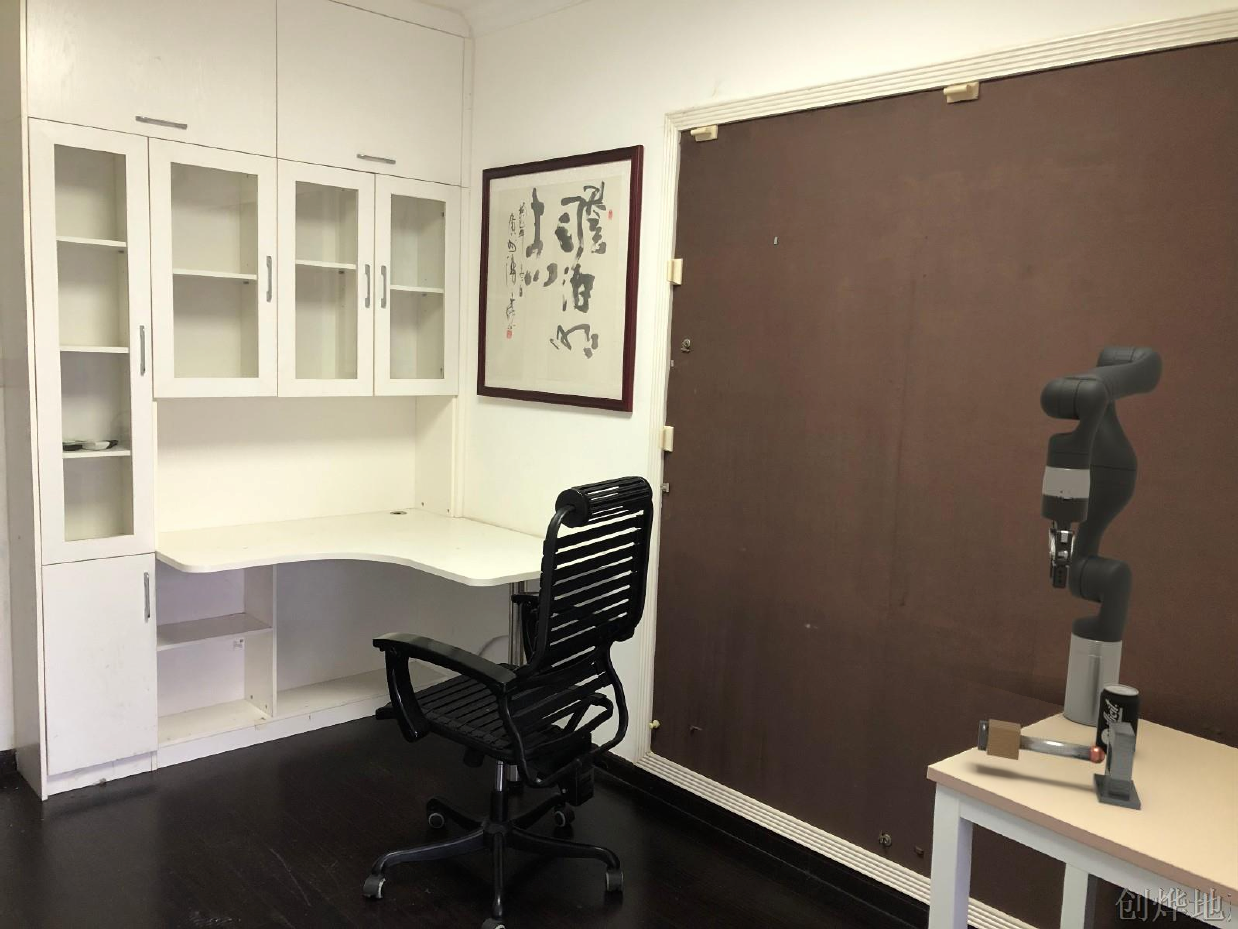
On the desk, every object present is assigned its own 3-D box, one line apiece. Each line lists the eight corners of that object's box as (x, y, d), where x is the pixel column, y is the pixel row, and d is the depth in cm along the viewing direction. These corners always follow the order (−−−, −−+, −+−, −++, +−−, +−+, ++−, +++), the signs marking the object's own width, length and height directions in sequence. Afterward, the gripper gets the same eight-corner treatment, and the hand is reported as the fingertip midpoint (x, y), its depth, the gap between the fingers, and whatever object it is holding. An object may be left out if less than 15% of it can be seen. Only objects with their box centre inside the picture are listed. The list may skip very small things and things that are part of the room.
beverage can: (1139, 760, 175) (1146, 696, 174) (1100, 756, 177) (1107, 692, 175) (1128, 747, 182) (1134, 685, 180) (1090, 742, 183) (1096, 681, 182)
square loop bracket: (1093, 778, 166) (1099, 715, 165) (1132, 785, 164) (1138, 722, 163) (1098, 802, 157) (1105, 735, 156) (1140, 810, 155) (1147, 742, 153)
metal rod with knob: (977, 754, 165) (979, 726, 165) (977, 744, 170) (980, 716, 170) (1105, 776, 158) (1108, 747, 158) (1101, 765, 163) (1104, 737, 163)
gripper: (1040, 487, 178) (1032, 573, 180) (1044, 495, 165) (1035, 588, 167) (1085, 490, 176) (1077, 578, 177) (1092, 499, 162) (1083, 594, 164)
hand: (1057, 583), depth 172 cm, fingers open, 8 cm apart
